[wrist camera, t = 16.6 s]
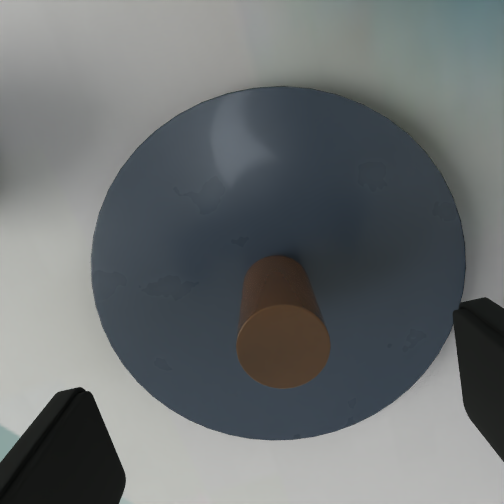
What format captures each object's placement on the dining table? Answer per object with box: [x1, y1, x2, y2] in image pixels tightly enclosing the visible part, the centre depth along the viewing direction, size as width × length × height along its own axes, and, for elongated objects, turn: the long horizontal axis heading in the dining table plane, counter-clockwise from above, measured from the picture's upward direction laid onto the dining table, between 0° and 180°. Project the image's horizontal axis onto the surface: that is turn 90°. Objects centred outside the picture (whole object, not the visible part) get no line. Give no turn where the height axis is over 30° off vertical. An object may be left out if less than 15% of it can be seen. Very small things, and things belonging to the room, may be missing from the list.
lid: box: [91, 86, 466, 440], centre depth 14 cm, size 16×16×6 cm
